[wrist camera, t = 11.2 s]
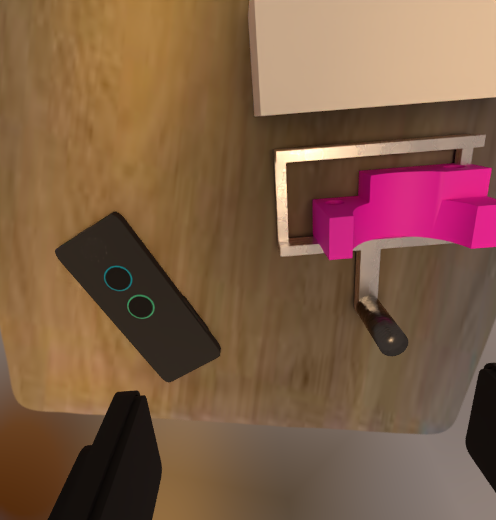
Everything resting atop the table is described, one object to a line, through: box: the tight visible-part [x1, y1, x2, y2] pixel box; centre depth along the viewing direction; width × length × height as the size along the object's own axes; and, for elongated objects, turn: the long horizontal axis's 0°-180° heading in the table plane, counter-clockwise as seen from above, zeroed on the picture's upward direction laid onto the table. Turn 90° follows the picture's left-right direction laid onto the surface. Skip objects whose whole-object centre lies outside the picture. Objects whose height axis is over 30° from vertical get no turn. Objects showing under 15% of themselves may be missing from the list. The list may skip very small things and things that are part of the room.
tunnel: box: [248, 0, 496, 117], centre depth 27 cm, size 8×22×10 cm, turn 94°
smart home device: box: [55, 212, 221, 382], centre depth 40 cm, size 8×2×20 cm
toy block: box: [313, 163, 496, 260], centre depth 33 cm, size 15×6×8 cm, turn 94°
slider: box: [274, 134, 486, 356], centre depth 34 cm, size 18×19×8 cm
